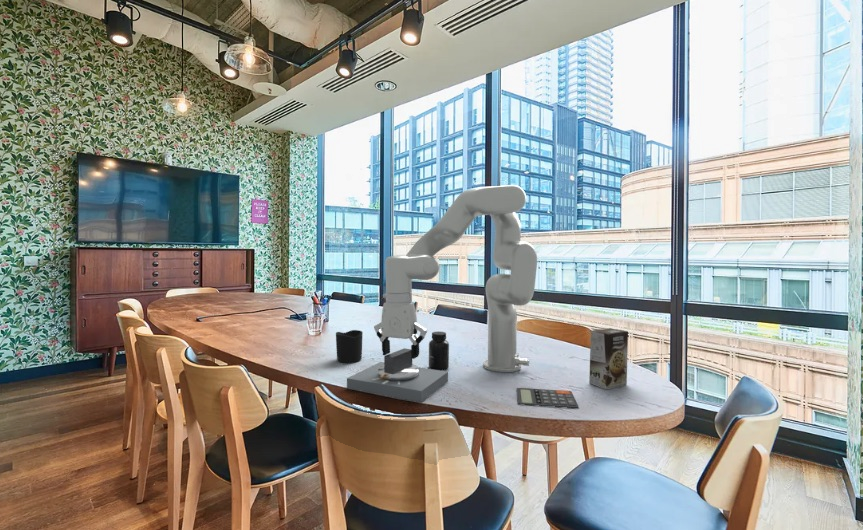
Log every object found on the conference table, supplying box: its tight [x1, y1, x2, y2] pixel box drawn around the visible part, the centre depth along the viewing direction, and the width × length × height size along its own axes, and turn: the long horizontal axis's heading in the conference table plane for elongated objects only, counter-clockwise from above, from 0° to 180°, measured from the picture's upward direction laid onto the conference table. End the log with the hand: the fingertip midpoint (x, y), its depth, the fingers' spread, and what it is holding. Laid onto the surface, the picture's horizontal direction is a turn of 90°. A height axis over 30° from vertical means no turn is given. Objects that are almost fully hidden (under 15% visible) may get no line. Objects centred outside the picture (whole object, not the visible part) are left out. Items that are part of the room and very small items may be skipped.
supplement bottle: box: [428, 331, 450, 371], centre depth 134 cm, size 7×7×12 cm
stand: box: [346, 361, 449, 403], centre depth 118 cm, size 24×18×3 cm
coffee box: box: [588, 327, 629, 390], centre depth 118 cm, size 9×6×16 cm
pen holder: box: [335, 329, 363, 364], centre depth 143 cm, size 9×9×10 cm
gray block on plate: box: [378, 348, 420, 381], centre depth 116 cm, size 14×12×6 cm
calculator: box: [516, 387, 580, 409], centre depth 108 cm, size 12×1×15 cm
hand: (400, 355), depth 118 cm, fingers open, 9 cm apart
